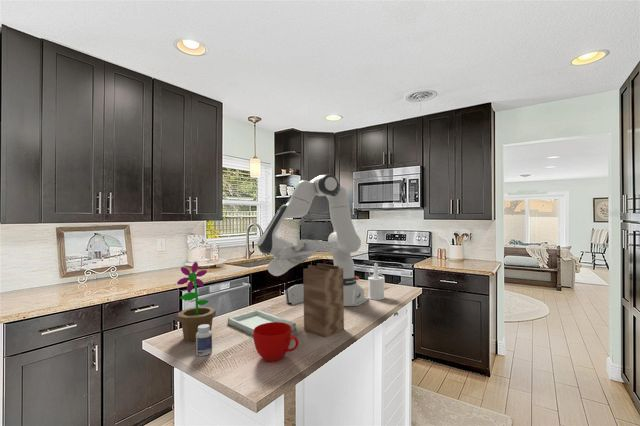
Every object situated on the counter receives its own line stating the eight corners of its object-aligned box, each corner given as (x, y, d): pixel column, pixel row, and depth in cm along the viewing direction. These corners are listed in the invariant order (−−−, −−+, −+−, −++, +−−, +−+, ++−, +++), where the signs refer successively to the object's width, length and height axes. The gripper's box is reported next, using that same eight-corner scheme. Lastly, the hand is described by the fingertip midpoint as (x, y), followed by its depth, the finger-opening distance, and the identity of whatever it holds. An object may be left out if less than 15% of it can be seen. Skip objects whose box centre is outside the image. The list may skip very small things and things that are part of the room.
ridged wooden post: (323, 322, 142) (322, 262, 142) (343, 328, 134) (343, 265, 133) (304, 329, 133) (303, 266, 133) (324, 337, 125) (323, 269, 125)
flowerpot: (206, 327, 137) (205, 259, 137) (222, 336, 127) (221, 262, 127) (172, 337, 127) (171, 263, 127) (186, 348, 117) (185, 267, 117)
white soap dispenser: (374, 301, 174) (374, 265, 174) (364, 297, 182) (364, 262, 182) (389, 298, 179) (389, 263, 179) (379, 294, 188) (378, 261, 187)
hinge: (292, 305, 169) (287, 286, 171) (286, 306, 172) (282, 288, 174) (314, 298, 181) (309, 281, 183) (308, 299, 184) (304, 283, 186)
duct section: (303, 248, 144) (303, 239, 144) (336, 251, 130) (336, 241, 130) (297, 249, 141) (297, 240, 141) (330, 252, 128) (330, 242, 128)
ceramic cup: (286, 373, 98) (286, 341, 98) (245, 361, 106) (245, 331, 106) (308, 356, 109) (308, 327, 109) (269, 346, 117) (269, 319, 117)
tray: (257, 315, 153) (257, 309, 153) (295, 329, 134) (295, 323, 134) (227, 323, 141) (227, 318, 141) (265, 341, 122) (265, 334, 122)
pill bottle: (214, 352, 113) (214, 325, 113) (200, 358, 109) (200, 330, 109) (207, 348, 116) (206, 322, 116) (193, 353, 112) (192, 326, 112)
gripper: (271, 253, 141) (288, 239, 133) (304, 248, 156) (321, 235, 148) (275, 266, 139) (293, 252, 131) (308, 260, 154) (326, 247, 145)
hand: (308, 243), depth 139 cm, fingers closed on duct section, 4 cm apart
